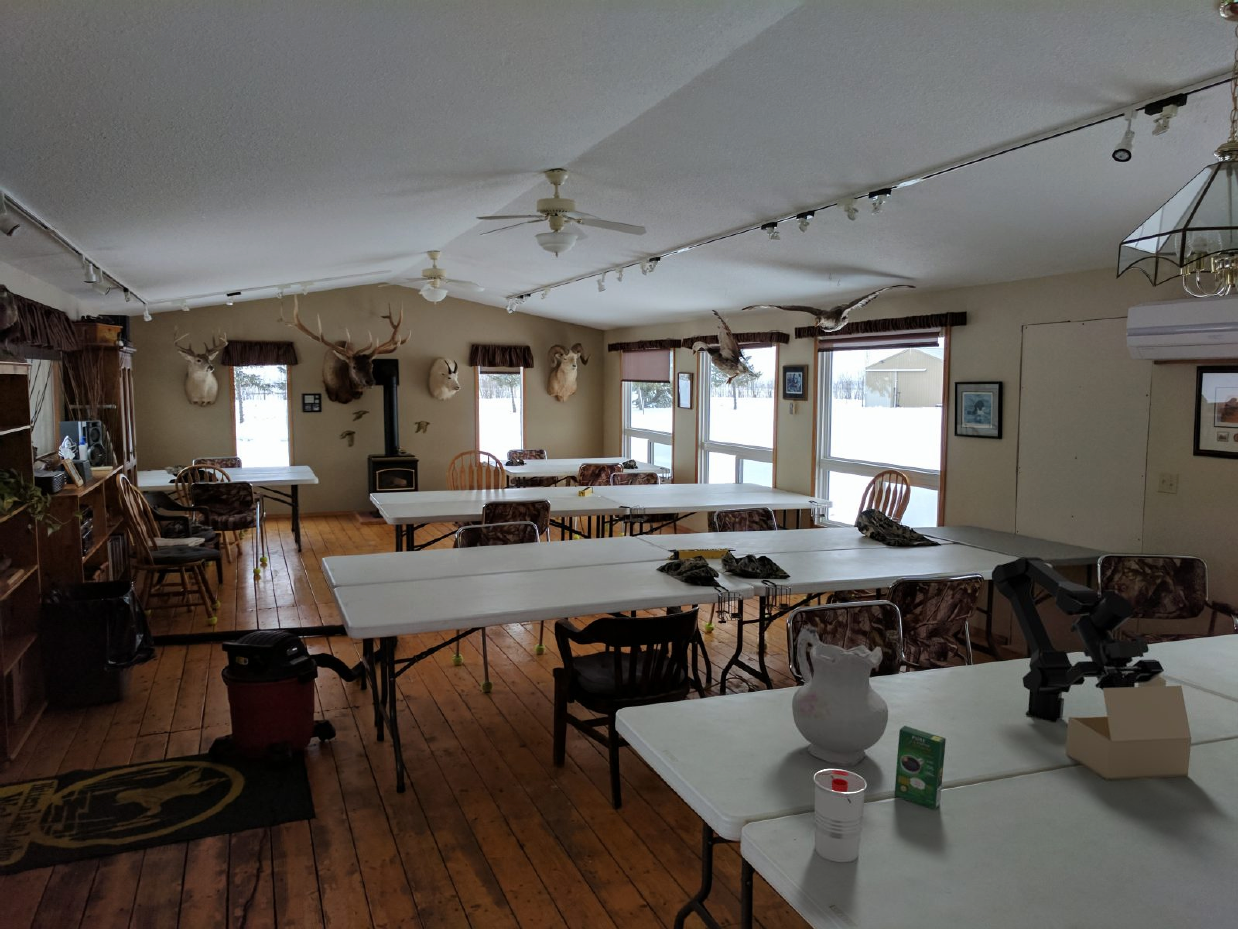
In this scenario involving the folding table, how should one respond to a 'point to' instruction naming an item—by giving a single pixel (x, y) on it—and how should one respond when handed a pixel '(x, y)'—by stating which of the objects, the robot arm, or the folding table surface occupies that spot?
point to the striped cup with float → (838, 814)
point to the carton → (1124, 752)
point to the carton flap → (1146, 713)
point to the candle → (1154, 682)
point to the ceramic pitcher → (838, 700)
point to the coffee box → (919, 767)
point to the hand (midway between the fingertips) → (1133, 711)
